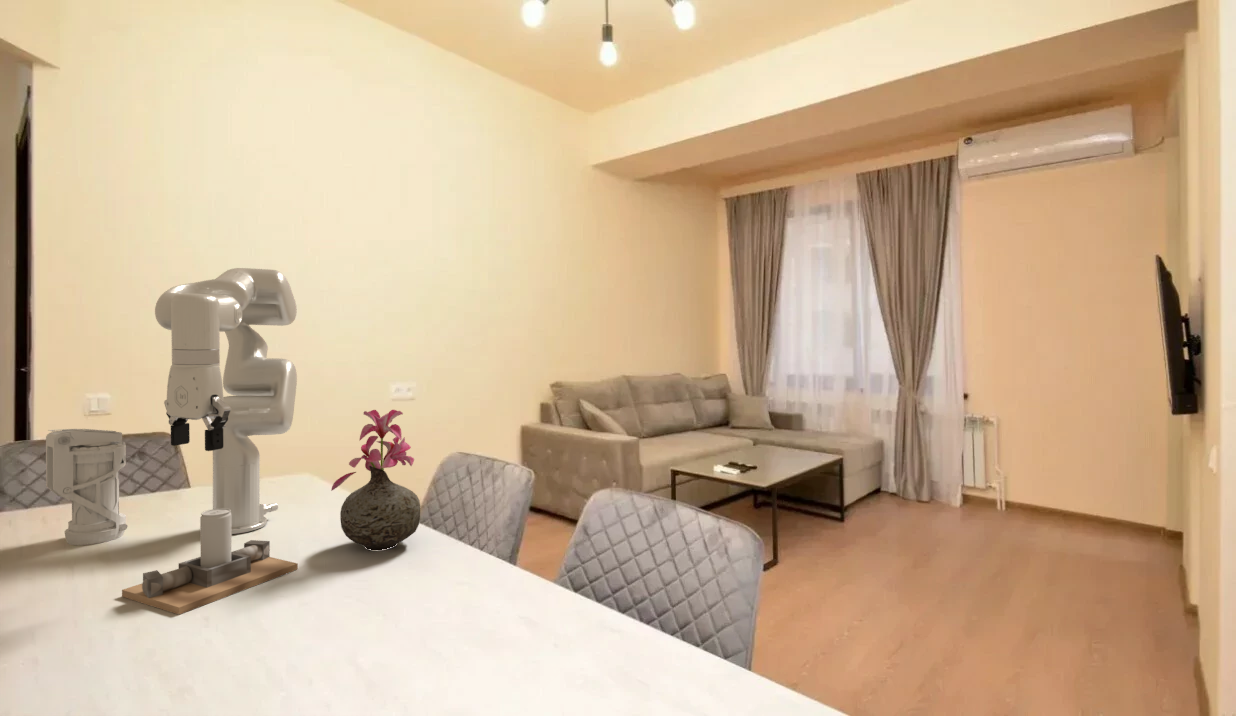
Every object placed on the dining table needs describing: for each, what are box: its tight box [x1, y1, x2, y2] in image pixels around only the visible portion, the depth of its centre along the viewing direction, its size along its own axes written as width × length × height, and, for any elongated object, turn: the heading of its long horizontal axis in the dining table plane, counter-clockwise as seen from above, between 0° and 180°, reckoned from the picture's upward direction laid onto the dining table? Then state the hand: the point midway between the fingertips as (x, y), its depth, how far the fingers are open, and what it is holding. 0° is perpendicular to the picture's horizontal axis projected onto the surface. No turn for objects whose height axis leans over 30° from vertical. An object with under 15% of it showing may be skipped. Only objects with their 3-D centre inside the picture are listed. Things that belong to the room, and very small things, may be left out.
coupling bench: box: [121, 539, 299, 615], centre depth 112 cm, size 22×16×4 cm
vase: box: [330, 409, 421, 550], centre depth 133 cm, size 17×17×30 cm
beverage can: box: [199, 508, 232, 569], centre depth 112 cm, size 5×5×12 cm
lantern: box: [45, 428, 128, 546], centre depth 134 cm, size 13×10×25 cm
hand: (197, 447), depth 116 cm, fingers open, 9 cm apart
